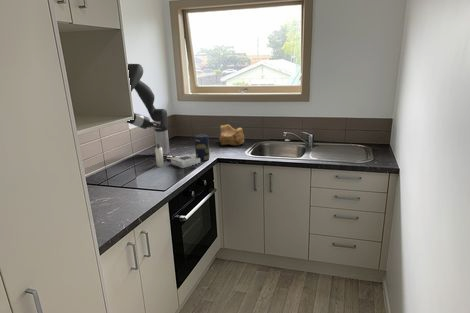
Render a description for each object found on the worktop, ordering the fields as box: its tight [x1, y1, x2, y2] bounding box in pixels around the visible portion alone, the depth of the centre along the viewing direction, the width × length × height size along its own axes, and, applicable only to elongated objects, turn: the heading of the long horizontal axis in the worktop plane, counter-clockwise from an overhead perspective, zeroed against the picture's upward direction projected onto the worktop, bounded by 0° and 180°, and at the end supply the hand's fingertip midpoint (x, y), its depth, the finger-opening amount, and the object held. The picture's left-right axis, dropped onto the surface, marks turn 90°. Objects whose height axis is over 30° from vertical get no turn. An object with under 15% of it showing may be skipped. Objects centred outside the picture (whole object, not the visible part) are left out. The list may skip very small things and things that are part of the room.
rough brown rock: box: [218, 124, 245, 147], centre depth 269 cm, size 23×17×15 cm
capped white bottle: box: [154, 143, 165, 168], centre depth 217 cm, size 4×4×15 cm
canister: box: [194, 133, 211, 161], centre depth 227 cm, size 10×10×18 cm
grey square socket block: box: [170, 153, 201, 169], centre depth 220 cm, size 14×14×4 cm
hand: (163, 129), depth 216 cm, fingers open, 8 cm apart
